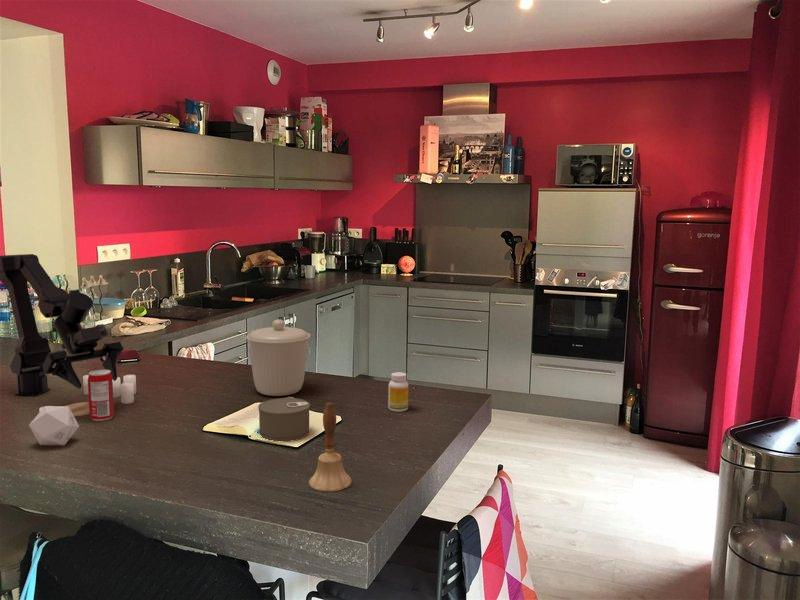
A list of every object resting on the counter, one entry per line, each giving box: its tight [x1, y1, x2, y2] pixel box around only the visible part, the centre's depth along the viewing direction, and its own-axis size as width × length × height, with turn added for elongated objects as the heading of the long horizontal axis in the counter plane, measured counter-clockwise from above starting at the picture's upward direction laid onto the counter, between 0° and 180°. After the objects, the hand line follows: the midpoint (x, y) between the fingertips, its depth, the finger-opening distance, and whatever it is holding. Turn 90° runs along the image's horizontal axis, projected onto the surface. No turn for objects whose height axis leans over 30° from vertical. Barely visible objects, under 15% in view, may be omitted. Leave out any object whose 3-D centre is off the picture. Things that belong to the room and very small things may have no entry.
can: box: [257, 397, 311, 442], centre depth 154 cm, size 12×12×7 cm
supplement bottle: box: [387, 371, 410, 413], centre depth 174 cm, size 5×5×10 cm
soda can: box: [88, 369, 115, 422], centre depth 162 cm, size 6×6×12 cm
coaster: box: [65, 401, 90, 417], centre depth 169 cm, size 10×10×1 cm
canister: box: [245, 319, 311, 397], centre depth 187 cm, size 18×18×21 cm
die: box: [28, 405, 80, 446], centre depth 145 cm, size 8×9×10 cm
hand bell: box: [308, 401, 352, 492], centre depth 126 cm, size 8×8×16 cm
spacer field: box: [38, 374, 137, 414], centre depth 169 cm, size 17×33×5 cm, turn 177°
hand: (98, 383), depth 162 cm, fingers open, 9 cm apart
